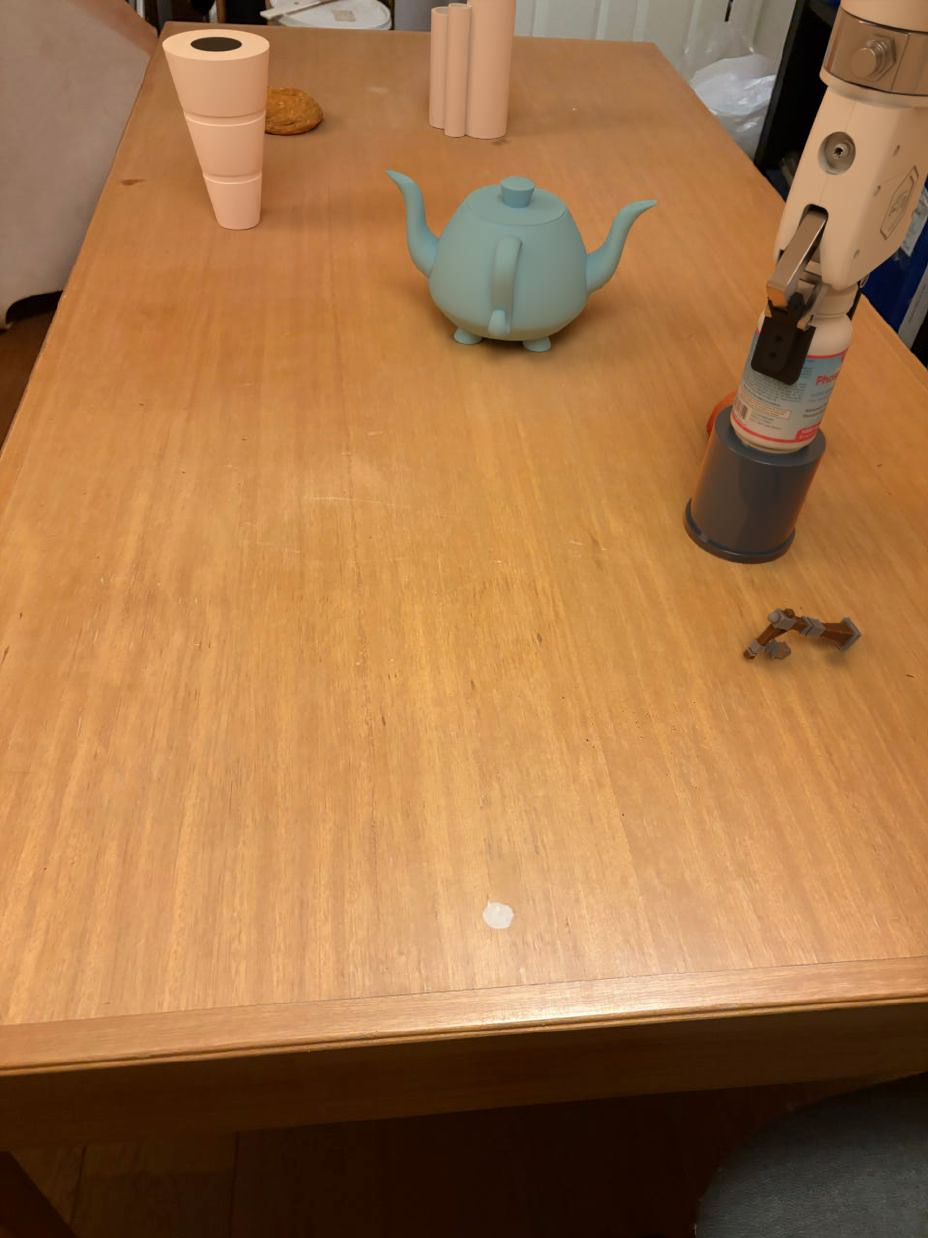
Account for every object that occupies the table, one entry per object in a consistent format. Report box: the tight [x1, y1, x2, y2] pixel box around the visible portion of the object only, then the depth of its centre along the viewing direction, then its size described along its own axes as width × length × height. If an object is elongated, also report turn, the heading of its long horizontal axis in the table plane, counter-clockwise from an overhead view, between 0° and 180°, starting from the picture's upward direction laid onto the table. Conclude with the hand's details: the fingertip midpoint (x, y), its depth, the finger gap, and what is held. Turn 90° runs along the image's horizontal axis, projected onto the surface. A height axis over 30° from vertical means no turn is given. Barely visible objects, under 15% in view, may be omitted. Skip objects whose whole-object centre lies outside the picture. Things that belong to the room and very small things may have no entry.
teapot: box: [385, 169, 659, 353], centre depth 89 cm, size 16×20×14 cm
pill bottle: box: [730, 263, 859, 450], centre depth 63 cm, size 6×6×11 cm
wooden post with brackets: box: [742, 607, 863, 661], centre depth 63 cm, size 2×8×4 cm, turn 106°
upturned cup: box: [682, 405, 827, 565], centre depth 70 cm, size 9×9×9 cm
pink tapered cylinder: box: [162, 28, 270, 231], centre depth 101 cm, size 11×11×18 cm
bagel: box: [264, 86, 324, 136], centre depth 128 cm, size 10×11×5 cm
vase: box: [428, 0, 517, 140], centre depth 125 cm, size 11×7×20 cm, turn 82°
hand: (797, 354), depth 62 cm, fingers closed on pill bottle, 6 cm apart
